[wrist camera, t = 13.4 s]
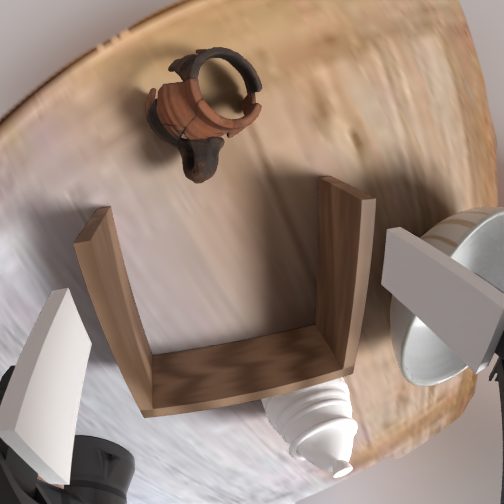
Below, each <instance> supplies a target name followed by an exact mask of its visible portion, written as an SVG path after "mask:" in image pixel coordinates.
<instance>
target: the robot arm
mask: <svg viewBox="0 0 504 504" xmlns="http://www.w3.org/2000/svg"><path fill="white" fill-rule="evenodd" d="M381 285H383V286H384V287H385V288H386V289H387V290H388V291H389V292H390V293H392V294H393V295H394V296H395V297H396V298H397V299H398V300H399V301H400V302H401V303H403V304H404V305H405V306H406V307H407V308H408V309H409V310H410V311H411V312H412V313H413V314H415V315H416V316H417V317H418V318H419V319H420V320H421V321H422V322H423V323H424V324H425V325H426V326H427V327H428V328H429V329H431V330H432V331H433V332H434V333H435V334H436V335H437V336H438V337H439V338H440V339H441V340H442V341H443V342H444V343H445V344H446V345H447V346H448V347H449V348H450V349H451V350H452V351H453V352H454V353H455V354H456V355H457V356H458V357H459V358H460V359H461V360H462V361H463V362H464V363H465V364H466V365H467V366H468V367H469V368H470V369H471V370H472V371H473V372H474V373H475V374H476V373H478V372H479V371H481V370H483V369H484V368H486V367H487V366H488V365H489V363H490V361H491V359H492V357H493V355H494V353H496V354H497V355H498V356H499V358H498V360H497V362H496V364H495V366H494V368H493V370H492V372H491V374H490V376H489V381H491V380H492V378H493V377H494V374H495V373H497V374H498V375H497V377H496V379H495V381H498V382H499V389H500V400H501V412H502V428H503V429H502V430H503V476H502V493H501V504H504V292H503V291H501V290H500V289H498V288H497V287H494V286H493V284H491V283H490V282H488V281H486V280H485V279H484V278H482V277H481V276H479V275H478V274H476V273H474V272H472V271H470V270H469V269H467V268H466V267H464V266H463V265H461V264H460V263H458V262H457V261H455V260H454V259H452V258H451V257H449V256H447V255H446V254H444V253H443V252H441V251H439V250H438V249H436V248H435V247H433V246H431V245H430V244H428V243H427V242H425V241H423V240H422V239H420V238H418V237H417V236H415V235H413V234H412V233H410V232H408V231H406V230H405V229H403V228H401V227H397V228H391V229H387V235H386V246H385V256H384V265H383V273H382V281H381ZM91 345H92V343H91V341H90V339H89V337H88V334H87V332H86V330H85V327H84V325H83V323H82V320H81V318H80V316H79V313H78V311H77V308H76V306H75V303H74V301H73V298H72V296H71V293H70V290H69V288H64V289H58V290H53V291H52V292H51V293H50V295H49V297H48V299H47V301H46V303H45V305H44V307H43V309H42V311H41V313H40V315H39V317H38V319H37V321H36V323H35V325H34V327H33V329H32V331H31V333H30V335H29V337H28V339H27V341H26V344H25V346H24V348H23V350H22V353H21V355H20V357H19V359H18V362H17V364H16V366H11V367H10V368H9V369H8V370H7V371H6V373H5V374H4V375H3V376H2V379H1V381H0V504H127V500H126V493H127V490H128V488H129V485H130V482H131V480H132V477H133V474H134V471H135V460H134V457H133V456H132V454H131V453H130V452H129V451H127V450H126V449H125V448H123V447H121V446H119V445H117V444H115V443H112V442H110V441H107V440H103V439H99V438H95V437H88V436H75V429H76V422H77V416H78V410H79V404H80V398H81V393H82V387H83V382H84V377H85V372H86V367H87V363H88V358H89V354H90V349H91ZM38 475H39V476H40V477H42V478H43V479H44V480H45V481H46V482H47V483H46V482H44V481H41V480H39V479H37V476H38ZM49 483H50V484H49ZM51 484H64V489H61V488H59V487H56V486H54V485H51Z"/></svg>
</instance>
